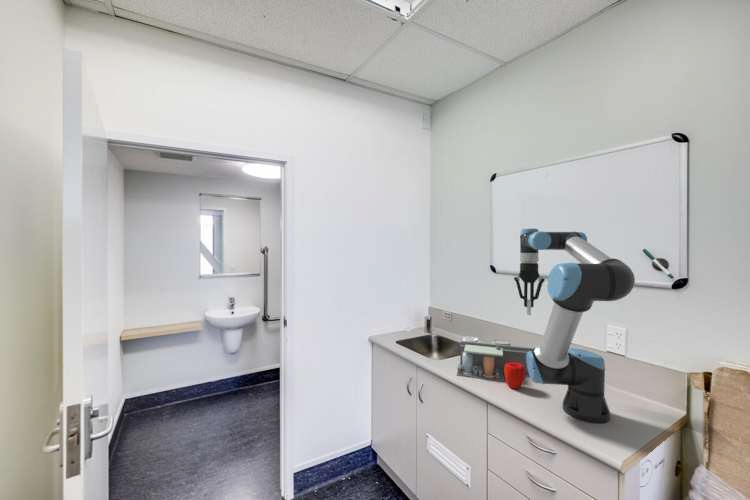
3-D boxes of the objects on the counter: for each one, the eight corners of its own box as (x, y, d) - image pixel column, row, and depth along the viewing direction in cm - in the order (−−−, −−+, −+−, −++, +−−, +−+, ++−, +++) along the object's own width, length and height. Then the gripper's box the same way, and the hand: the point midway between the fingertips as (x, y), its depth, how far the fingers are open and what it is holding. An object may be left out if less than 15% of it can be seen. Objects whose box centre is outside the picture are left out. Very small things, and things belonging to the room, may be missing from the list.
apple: (523, 393, 140) (523, 368, 140) (502, 388, 144) (502, 364, 144) (526, 386, 147) (526, 362, 147) (506, 381, 152) (506, 358, 152)
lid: (502, 356, 154) (503, 352, 154) (463, 352, 160) (463, 348, 160) (502, 349, 165) (502, 345, 165) (465, 345, 171) (465, 342, 171)
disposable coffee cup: (491, 365, 173) (492, 343, 172) (491, 360, 182) (491, 338, 182) (511, 368, 170) (511, 345, 170) (509, 362, 179) (510, 340, 179)
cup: (486, 356, 187) (486, 339, 187) (468, 359, 183) (468, 341, 183) (477, 352, 195) (477, 335, 195) (460, 354, 191) (460, 337, 191)
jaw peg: (483, 375, 157) (483, 356, 157) (483, 371, 162) (483, 353, 162) (494, 376, 156) (494, 358, 156) (494, 373, 160) (494, 354, 160)
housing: (546, 387, 146) (546, 359, 146) (456, 375, 159) (456, 349, 159) (541, 373, 162) (541, 348, 162) (460, 363, 175) (460, 340, 175)
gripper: (543, 262, 149) (543, 313, 149) (513, 262, 154) (512, 311, 154) (546, 263, 142) (545, 317, 142) (514, 262, 147) (513, 314, 147)
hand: (528, 314), depth 148 cm, fingers closed
